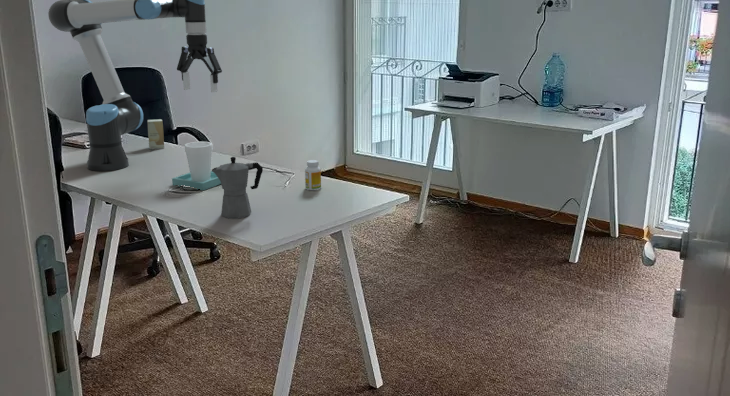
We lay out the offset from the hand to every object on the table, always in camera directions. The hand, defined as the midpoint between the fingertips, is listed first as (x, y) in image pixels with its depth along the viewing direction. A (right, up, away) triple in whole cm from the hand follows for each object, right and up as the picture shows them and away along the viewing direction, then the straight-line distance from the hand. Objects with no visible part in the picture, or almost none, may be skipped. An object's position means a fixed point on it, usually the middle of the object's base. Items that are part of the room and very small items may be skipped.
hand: (200, 90), depth 262 cm
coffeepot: (+25, -46, -52) cm, 74 cm away
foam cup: (+5, -35, -19) cm, 40 cm away
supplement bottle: (+45, -38, -26) cm, 65 cm away
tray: (+5, -36, -19) cm, 41 cm away
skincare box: (-27, -20, +35) cm, 48 cm away
